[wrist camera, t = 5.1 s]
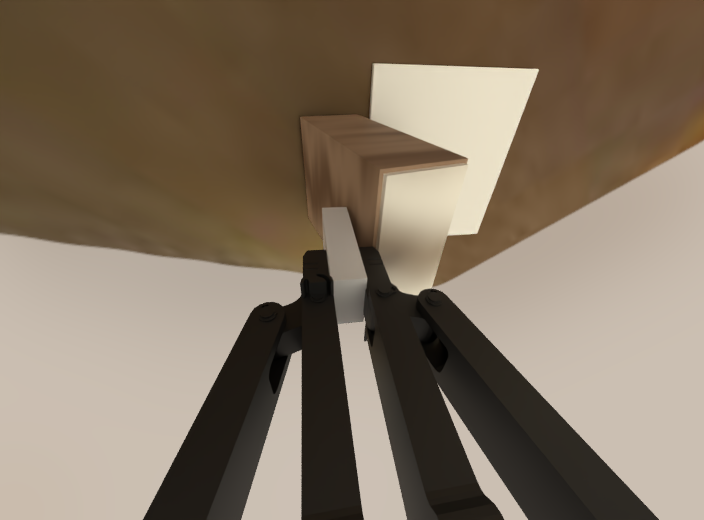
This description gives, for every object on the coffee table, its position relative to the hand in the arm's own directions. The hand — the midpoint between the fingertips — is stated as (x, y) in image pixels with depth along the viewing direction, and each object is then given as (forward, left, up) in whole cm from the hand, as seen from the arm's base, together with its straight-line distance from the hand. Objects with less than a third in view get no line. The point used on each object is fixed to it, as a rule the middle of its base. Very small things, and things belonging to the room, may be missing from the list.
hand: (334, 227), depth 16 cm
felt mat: (0, +11, -11) cm, 15 cm away
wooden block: (0, +1, -10) cm, 10 cm away
